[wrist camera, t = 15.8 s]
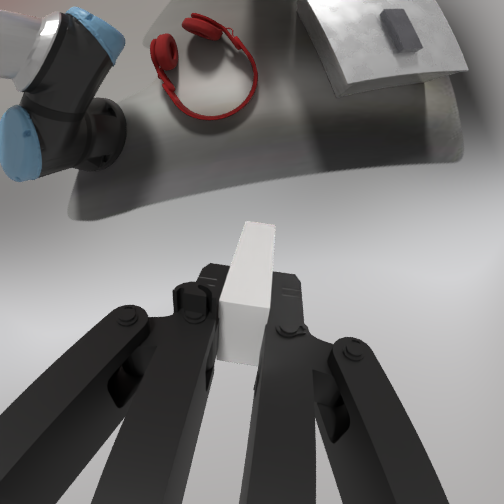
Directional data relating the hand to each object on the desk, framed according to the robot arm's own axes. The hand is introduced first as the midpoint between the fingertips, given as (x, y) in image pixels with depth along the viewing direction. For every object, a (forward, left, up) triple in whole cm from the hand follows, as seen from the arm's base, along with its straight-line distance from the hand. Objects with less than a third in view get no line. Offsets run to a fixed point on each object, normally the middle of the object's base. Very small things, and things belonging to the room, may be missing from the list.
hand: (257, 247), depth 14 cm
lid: (+10, +28, -21) cm, 36 cm away
